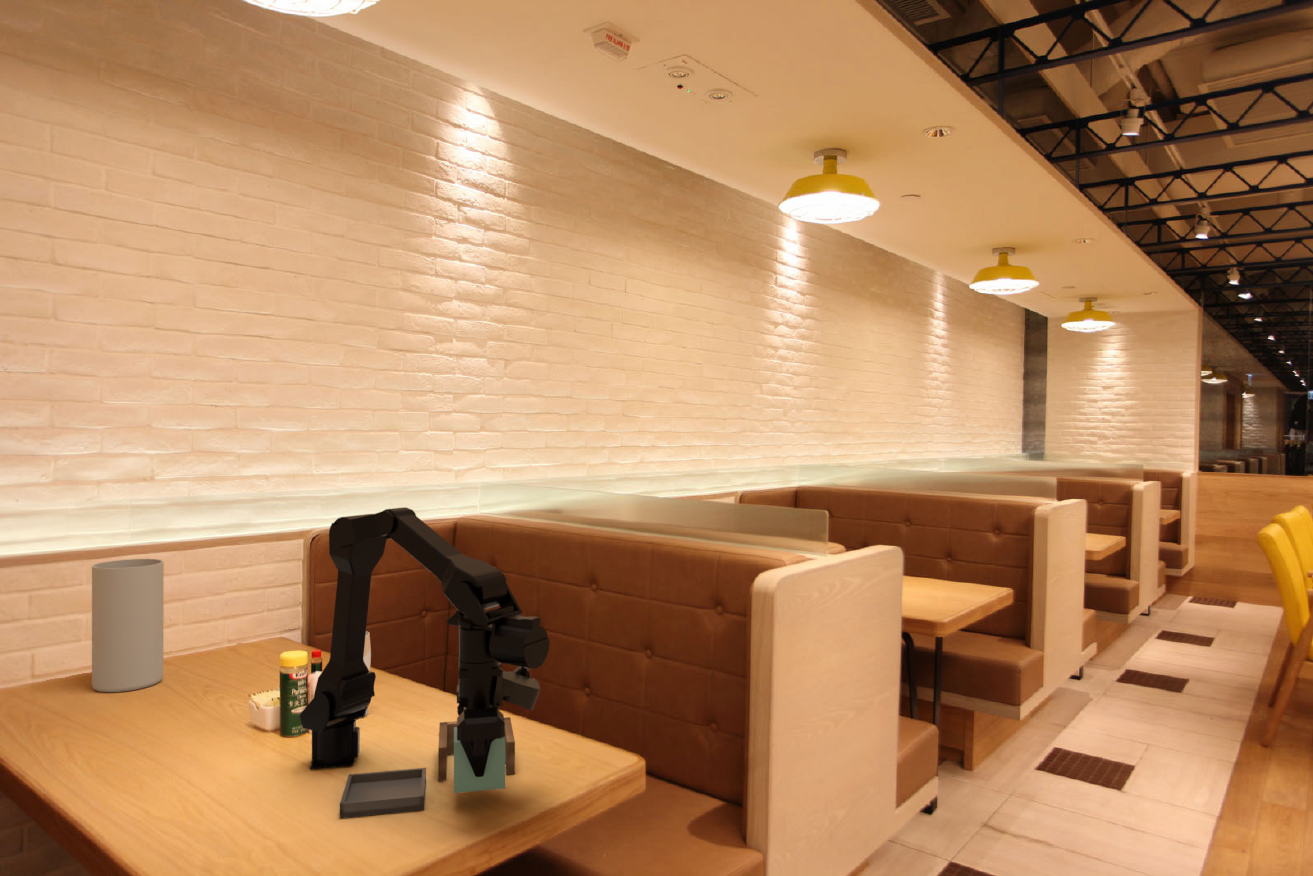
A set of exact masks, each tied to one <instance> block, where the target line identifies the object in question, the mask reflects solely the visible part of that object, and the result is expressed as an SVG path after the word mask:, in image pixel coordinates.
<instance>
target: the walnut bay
mask: <svg viewBox="0 0 1313 876" xmlns="http://www.w3.org/2000/svg"><path fill="white" fill-rule="evenodd" d="M504 721H505V765H506V766H505V773H506V775H507V774H509V775H515V774H516V765H515V763H516V762H515V761H516V756H515V755H516V740H515V735H514V729H513V725H512V720H511V717H510V716H507V717H504ZM454 727H457V720H456V721H455V720H454V721H443V722H441V721H440V722H439V727H438V730H439V731H438V748H437V749H438V750H437V751H438V752H437V753H438V755H437V756H438V757H437V758H438V759H437V761H438V763H437V766H438V768H437V769H438V771H437V773H438V776H437V777H438V782H443V781H448V780H447V779H448V778H447V777H448V776H447V774H448V773H447V771H448V769H447V768H448V756H450V755H449V754H454Z"/></svg>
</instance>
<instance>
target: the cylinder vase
mask: <svg viewBox="0 0 1313 876" xmlns="http://www.w3.org/2000/svg"><path fill="white" fill-rule="evenodd" d="M164 565H165V564H164V560H162V559H156V558H134V559H133V558H132V559H118V560H111V561H103V562H98V563H95V564H92V565H91V687H92V688H93V689H94V690H95V691H98V692H103V693H123V692H131V691H136V690H141V689H146V688H148V687H152V686H154V685H156V684H158V683H159V682H161V681H162V680H163V678H164Z"/></svg>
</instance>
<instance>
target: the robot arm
mask: <svg viewBox="0 0 1313 876" xmlns="http://www.w3.org/2000/svg"><path fill="white" fill-rule="evenodd" d="M390 539H391V540H392V541H393V542H395V543H396V544H397V545H398V546H399V547H401V548H402V549H403V550H404V551H405V552H406V553H408V554H409V555H410V556H411V557H412V558H414V559H415V560H416V561H417V562H418V563H420V564H421V565H422V566H423V567H424V568H425V569H427V570H428V571H429V572H430V573H431V574H432V575H434V577H436V578H437V580H438V581H439V582H440V584H441V588H442V592H443V594H444V596H445V597H446V599H448V601H450V604H452V605H453V606H454V608H455V609H456V611H455V612H454V614H452V615H451V616H450V617H449V618H447V620H446V624H447V625H450V626H456V627H458V684H457V685H456V704H458V706H457V715H458V716H457V717H456V721H457V740H458V741H460V742H461V745H462V747H463V749H464V751H465V753H466V756H467V758H468V760H469V762H470V765H471V767H472V769H473V772H474V774H475V776H476V777H483V776H484V772H485V768H486V763H487V759H488V755H489V750H490V746H491V743H492V742H493V741H494V740H495V739H498V738H502V737H505V721H504V718H505V717H504V716H505V715H504V713H503V712H501V710H500V707H503V706H504V702H507V703H509V704H513V705H517V706H520V707H523V708H524V709H525V710H528V711H529V710H530V711H533V710H534V707H535V705H536V703H537V699H538V697H539V694H540V691H541V686H540V683H539V681H538V680H536V679H535V677H532V678H531V673H530V669H534V670H535V669H538V668H539V667H541V666H542V665H543V663H544V662H545V661H546V659H547V657H548V654H549V650H550V638H549V636H548V633H547V630H546V629H545V628H544V627H543V626H541V618H540V616H532V615H531V616H523V610H522V609H521V607H520V606H519V602H517V600H516V598H515V596H514V595H513V592H512V591H511V589H510V588H509V586H508V583H507V578H506V576H505V574H504V573H503V572H502V570H500V569H498V568H497V567H495V566H494V565H491V564H490V563H487V562H485V561H484V560H481V559H477V558H473V557H469V556H467V555H465V554H463V553H462V552H461V551H460V550H458V548H456V547H455V546H454V545H452V544H451V543H449V542H448V540H446V539H445V538H444V537H442V536H441V535H440V534H439V533H437V532H436V531H435V530H434V529H432V528H431V527H430V526H429V525H428V524H426V523H425V522H424V521H423V520H421V519H420V518H419V517H418V516H417V514H416V512H415V511H414V510H413V509H411V508H410V507H394V508H386V509H384V510H382V511H379V512H377V513H365V514H360V515H359V514H358V515H348V516H340V517H338V518H337V519H335V521H333V522H332V523H331V525H330V527H329V532H328V544H329V545H328V548H329V551H328V552H329V556H330V558H331V560H332V562H333V563H334V566H335V568H336V569H337V580H336V593H335V603H334V612H333V624H332V634H331V642H330V643H331V644H330V655H329V661H328V662H327V664H326V665H325V666H324V668H323V670H322V672H321V673H320V675H319V676H318V677H317V681H316V684H315V685H316V686H315V690H314V693H313V698H312V699H311V700H310V702H309V703H308V704H307V705H306V707H305V708H304V709H303V710H302V712H301V713H300V714H299V717H300V722H301V726H302V728H303V729H306V730H308V731H309V730H310V731H311V762H310V764H309V766H308V767H309V768H308V769H309V770H321V769H323V770H324V769H334V768H346V767H352V766H354V765H355V761H356V760H357V759H358V757H359V754H360V752H361V751H360V749H361V748H360V746H361V745H360V740H361V739H360V738H361V737H360V736H361V735H360V732H361V731H360V730H361V729H360V727H359V726H357V720H359V719H358V718H360V719H362V717H363V718H365V717H366V716H365V714H366V710H367V707H369V705H370V704H371V700H372V698H373V697H376V695H375V681H376V678H377V676H376V673H375V672H374V671H371V670H370V671H369V670H368V668H367V666H366V664H365V662H364V660H363V656H364V646H365V636H366V631H367V623H368V613H369V605H370V603H369V602H370V594H371V593H370V592H371V585H372V584H371V583H372V574H373V571H374V570H375V568H376V566H377V565H378V564H379V561H380V560H381V558H382V557H383V556H384V553H385V548H386V544H387V540H390ZM495 607H498V608H495ZM492 608H494V609H492ZM489 609H491V610H489ZM486 610H487V611H486ZM502 664H505V665H511V666H516V668H515V669H514V670H512V671H511V670H509V671H506V670H503V668H502ZM364 716H365V717H364Z"/></svg>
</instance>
